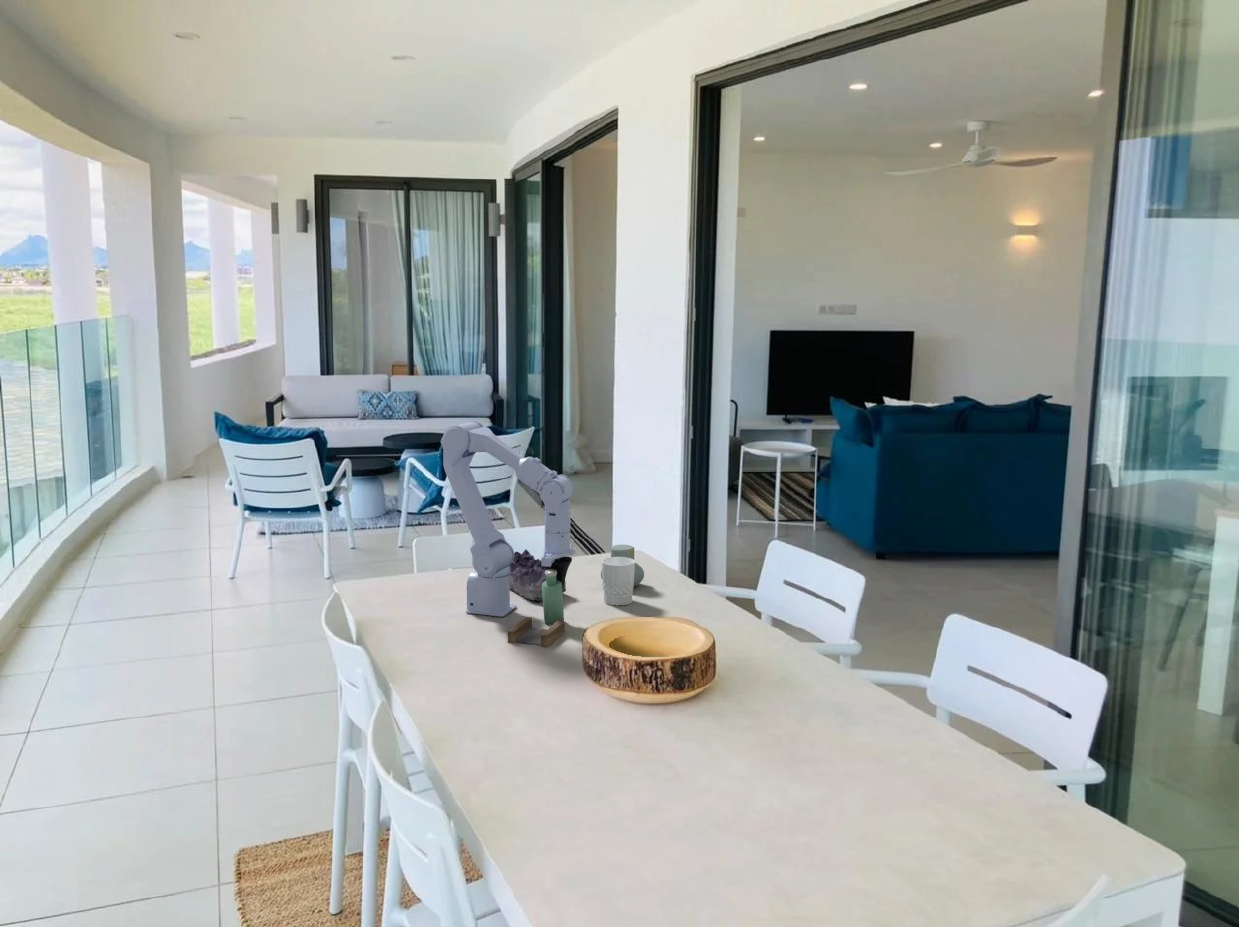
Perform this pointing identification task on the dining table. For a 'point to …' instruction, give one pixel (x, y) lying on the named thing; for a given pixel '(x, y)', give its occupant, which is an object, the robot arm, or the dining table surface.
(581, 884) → the dining table surface
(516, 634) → the cradle
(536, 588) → the geode
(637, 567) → the air freshener
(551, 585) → the bottle
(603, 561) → the white cup
